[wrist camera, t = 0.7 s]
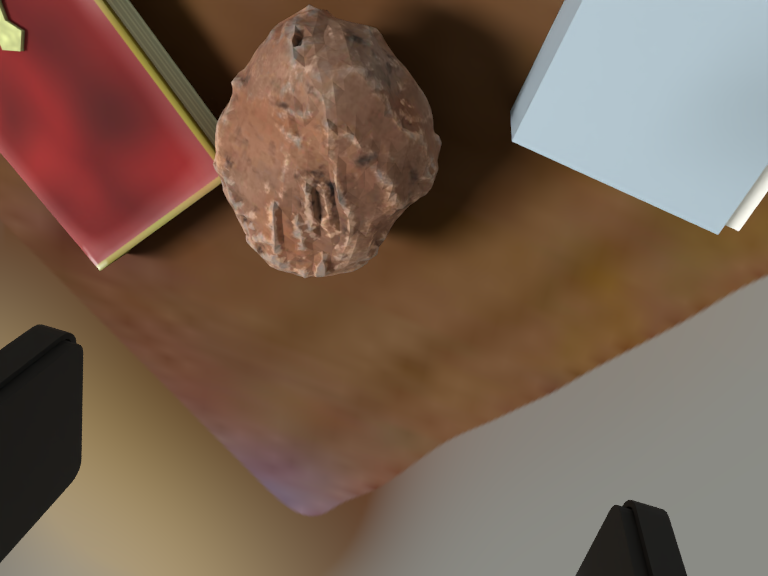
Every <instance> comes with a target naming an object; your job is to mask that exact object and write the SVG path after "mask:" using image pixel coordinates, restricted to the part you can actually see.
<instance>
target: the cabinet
mask: <svg viewBox="0 0 768 576" xmlns="http://www.w3.org/2000/svg"><path fill="white" fill-rule="evenodd" d="M510 115H511V134H512V142H514V143H517V144H519V145H521V146H523V147H525V148H528V149H530V150H532V151H534V152H537V153H539V154H541V155H543V156H545V157H548V158H550V159H552V160H554V161H556V162H559V163H561V164H563V165H565V166H567V167H570V168H572V169H574V170H576V171H578V172H581V173H583V174H585V175H587V176H589V177H592V178H594V179H596V180H598V181H600V182H603V183H605V184H607V185H609V186H612V187H614V188H616V189H618V190H620V191H623V192H625V193H627V194H629V195H631V196H634V197H636V198H638V199H640V200H642V201H645V202H647V203H649V204H651V205H653V206H656V207H658V208H660V209H662V210H664V211H667V212H669V213H671V214H673V215H676V216H678V217H680V218H682V219H684V220H687V221H689V222H691V223H693V224H695V225H698V226H700V227H702V228H704V229H706V230H709V231H711V232H713V233H715V234H717V235H718V234H719V233H720V231H721V230H722V228H723V227H724V226H725V225H726V226H729V227H731V228H733V229H735V230H737V231H739V230H740V229H741V228H742V226H743V225H744V223H745V222H746V221H747V219H748V218H749V216H750V215H751V214H752V212H753V211H754V209H755V208H756V207H757V205H758V204H759V203H760V201H761V200H762V198H763V197H764V196H765V194H766V193H767V191H768V0H565V1H564V3H563V5H562V7H561V9H560V11H559V13H558V15H557V17H556V19H555V21H554V23H553V25H552V27H551V29H550V31H549V33H548V35H547V37H546V39H545V41H544V43H543V45H542V48H541V50H540V52H539V54H538V56H537V58H536V60H535V62H534V64H533V66H532V68H531V70H530V72H529V74H528V76H527V78H526V80H525V82H524V84H523V86H522V88H521V90H520V92H519V95H518V97H517V99H516V101H515V103H514V105H513V107H512V109H511V111H510Z"/></svg>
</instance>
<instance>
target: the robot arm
mask: <svg viewBox="0 0 768 576" xmlns="http://www.w3.org/2000/svg"><path fill="white" fill-rule="evenodd" d="M82 384H83V348H82V346H81V345H79V344H76V338H75V337H74V335H73V334H71V333H68V332H65V331H62V330H59V329H55V328H52V327H48V326H45V325H36V326H34V327H32V328H31V329H29V330H28V331H26V332H25V333H23V334H22V335H21V336H19V337H18V338H16V339H15V340H14V341H12V342H11V343H9V344H8V345H6V346H5V347H4V348H2V349H1V350H0V562H1V561H2V560H3V559H4V558H5V557H6V556H7V555H8V553H9V552H10V551H11V550H12V549H13V548H14V547H15V545H16V544H17V543H18V542H19V541H20V540H21V538H23V537H24V535H25V534H26V533H27V532H28V531H29V530H30V529H31V528H32V526H33V525H34V524H35V523H36V522H37V521H38V520H39V519H40V517H41V516H42V515H43V514H44V513H45V512H46V511H47V510H48V509H49V507H50V506H51V505H52V504H53V503H54V502H55V501H56V499H57V498H58V497H59V496H60V495H61V494H62V493H63V492H64V491H65V489H66V488H67V487H68V486H69V485H70V484H71V483H72V481H73V480H74V479H75V477H76V475H77V473H78V471H79V468H80V465H81V451H82V445H81V444H82V390H83V385H82ZM576 576H687V574H686V571H685V568H684V564H683V561H682V558H681V555H680V551H679V548H678V545H677V542H676V539H675V535H674V532H673V529H672V526H671V522H670V519H669V516H668V514H667V512H666V511H664V510H663V509H659V508H657V507H653V506H649V505H646V504H643V503H640V502H636V501H633V500H628V501H626V502H625V503H624V505H623V506H618V505H614V506H613V507H612V508H611V510H610V511H609V513H608V515H607V517H606V519H605V521H604V523H603V525H602V526H601V529H600V530H599V532H598V534H597V536H596V538H595V540H594V542H593V544H592V545H591V547H590V549H589V551H588V553H587V555H586V557H585V559H584V561H583V563H582V565H581V566H580V568H579V570H578V572H577V574H576Z"/></svg>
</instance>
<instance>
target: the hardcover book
mask: <svg viewBox="0 0 768 576" xmlns="http://www.w3.org/2000/svg"><path fill="white" fill-rule="evenodd" d="M217 122H218V121H217V120H216V118H215V117H214V116H213V114H212V113H211V112H210V110H209V109H208V107H207V106H206V105H205V103H204V102H203V101H202V99H201V98H200V96H199V95H198V94H197V92H196V91H195V90H194V88H193V87H192V86H191V84H190V83H189V81H188V80H187V79H186V77H185V76H184V75H183V73H182V72H181V71H180V69H179V68H178V66H177V65H176V64H175V62H174V61H173V60H172V58H171V57H170V55H169V54H168V53H167V51H166V50H165V49H164V47H163V46H162V45H161V43H160V42H159V40H158V39H157V38H156V36H155V35H154V34H153V32H152V31H151V30H150V28H149V27H148V25H147V24H146V23H145V21H144V20H143V19H142V17H141V16H140V14H139V13H138V12H137V10H136V9H135V8H134V6H133V5H132V4H131V2H130V1H129V0H0V153H1V154H2V155H3V156H4V157H5V159H6V160H7V161H8V162H9V163H10V165H11V166H12V167H13V168H14V169H15V170H16V172H17V173H18V174H19V175H20V176H21V178H22V179H23V180H24V181H25V182H26V184H27V185H28V186H29V187H30V188H31V190H32V191H33V192H34V193H35V194H36V195H37V197H38V198H39V199H40V200H41V201H42V203H43V204H44V205H45V206H46V207H47V209H48V210H49V211H50V212H51V213H52V214H53V216H54V217H55V218H56V219H57V220H58V222H59V223H60V224H61V225H62V226H63V228H64V229H65V230H66V231H67V232H68V233H69V235H70V236H71V237H72V238H73V239H74V241H75V242H76V243H77V244H78V245H79V247H80V248H81V249H82V250H83V251H84V253H85V254H86V255H87V256H88V257H89V258H90V260H91V261H92V262H93V263H94V264H95V266H96V267H97V268H98V269H99V270H100V271H101V270H102V269H104V268H105V267H107V266H108V265H110V264H111V263H113V262H114V261H116V260H117V259H119V258H120V257H122V256H123V255H125V254H126V253H128V252H129V251H130V249H131V248H133V247H134V246H135V245H137V244H138V243H139V242H141V241H142V240H144V239H145V238H146V237H148V236H149V235H151V234H152V233H153V232H155V231H156V230H157V229H159V228H160V227H162V226H163V225H164V224H166V223H167V222H168V221H170V220H171V219H173V218H174V217H175V216H177V215H178V214H180V213H181V212H182V211H184V210H185V209H186V208H188V207H189V206H191V205H192V204H193V203H195V202H196V201H197V200H199V199H200V198H202V197H203V196H204V195H206V194H207V193H209V192H210V191H211V190H213V189H214V188H215V187H217V186H218V185H220V184H221V183H222V182H221V179H220V177H219V175H218V174H217V172H216V170H215V168H214V166H213V162H214V159H215V154H216V147H215V133H216V126H217Z"/></svg>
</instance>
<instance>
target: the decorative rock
mask: <svg viewBox="0 0 768 576" xmlns="http://www.w3.org/2000/svg"><path fill="white" fill-rule="evenodd" d="M231 84H232V87H233V93H232V96H231V99H230V101H229V103H228V105H227V106H226V107H225V109H224V110H223V112H222V114H221V116H220V117H219V119H218V122H217V126H216V133H215V147H216V154H215V159H214V162H213V166H214V168H215V170H216V172H217V174H218V175H219V177H220V179H221V182H222V186H223V192H224V194H225V196H226V198H227V200H228V202H229V203H230V205H231V206H232V208H233V209H234V212H235V214H236V217H237V219H238V221H239V222H240V224H241V226H242V228H243V230H244V232H245V234H246V241H247V243H248V244H249V245H250V246H251V247H252V248H253V249H254V250H255V251H256V252H257V253H258V254H259V255H260V256H261V257H262V258H263V259H264V260H265V261H266V262H267V263H268V265H269V266H270V267H273V268H275V269H278V270H281V271H284V272H291V273H293V274H295V275H298V276H302V277H304V278H307V277H312V276H316V277H324V276H330V275H335V274H339V273H347V272H352V271H355V270H357V269H359V268H360V267H362V266H364V265H365V264H367V262H368V260H369V259H371V258H373V257H374V256H376V255H377V252H378V248H379V246H380V245H381V244H382V242H383V241H384V239H385V238H386V236H387V235H388V233H389V231H390V229H391V227H392V225H393V224H394V222H395V221H396V220H397V219H398V217H399V216H400V215H401V214H402V213H403V212H404V211H405V209H406V208H408V207H409V206H410V205H411V204H412V203H414V202H415V201H417V200H418V199H419V198H421V197H423V196H425V195H426V194H427V193H428V191H429V190H430V189H431V188H432V185H433V183H434V180H435V177H436V174H437V171H438V162H437V160H438V156H439V152H440V148H441V144H442V143H441V140H440V137H439V136H438V135H437V134H436V133H434V128H433V116H432V111H431V108H430V105H429V103H428V100H427V98H426V96H425V94H424V93H423V91H422V90H421V88H420V87H419V86H418V84H417V83H416V81H415V80H414V78H413V77H412V76H411V74H410V73H409V71H408V70H407V69H406V67H405V66H404V65H403V64H402V63H401V62H400V61H399V60H398V59H397V58H396V56H395V55H394V53H393V52H392V51H391V49H390V48H389V47H388V45H387V43H386V42H385V40H384V38H383V36H382V34H381V33H380V32H379V31H378V30H377V28H373V27H370V26H367V25H362V24H357V23H352V22H348V21H344V20H341V19H338V18H335V17H334V16H333V15H331V14H330V13H329V12H328V11H327V10H321V9H317V8H314V7H313V6H311V5H310V4H309V5H308V6H307V7H306V8H304V9H302V10H300V11H299V12H297V13H295V14H294V15H292V16H291V17H289V18H287V19H285V20H284V21H282V22H280V23H279V24H277V25H276V26H275V27H274V28H273V29H272V30H271V32H270V34H269V35H268V37H267V38H266V40H265V41H264V42H263V43H262V44H261V45H260V46H259V47H258V49H257V50H256V52H255V53H254V55H253V57H252V58H251V60H250V62H249V63H248V65H247V66H246V68H245V69H243V70H242V71H241V72H239V73H238V74H237V76H236V77H235V78H234V79H233V81H232V82H231Z"/></svg>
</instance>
